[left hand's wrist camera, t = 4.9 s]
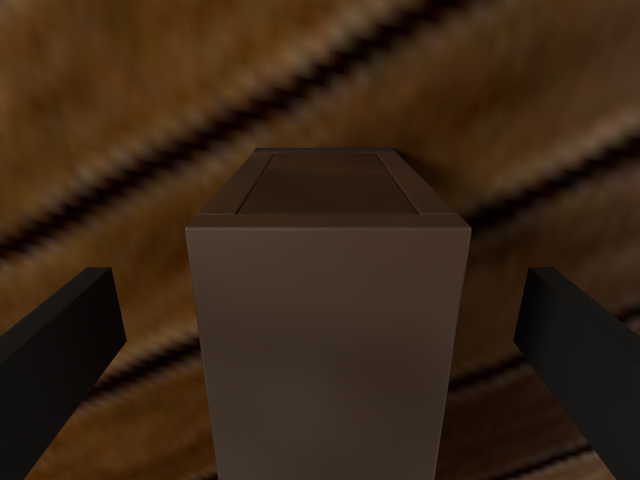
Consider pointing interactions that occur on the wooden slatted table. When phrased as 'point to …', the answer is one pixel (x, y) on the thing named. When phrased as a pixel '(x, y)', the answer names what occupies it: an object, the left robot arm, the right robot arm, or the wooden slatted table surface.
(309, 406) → the cabinet
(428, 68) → the wooden slatted table surface
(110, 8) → the wooden slatted table surface
